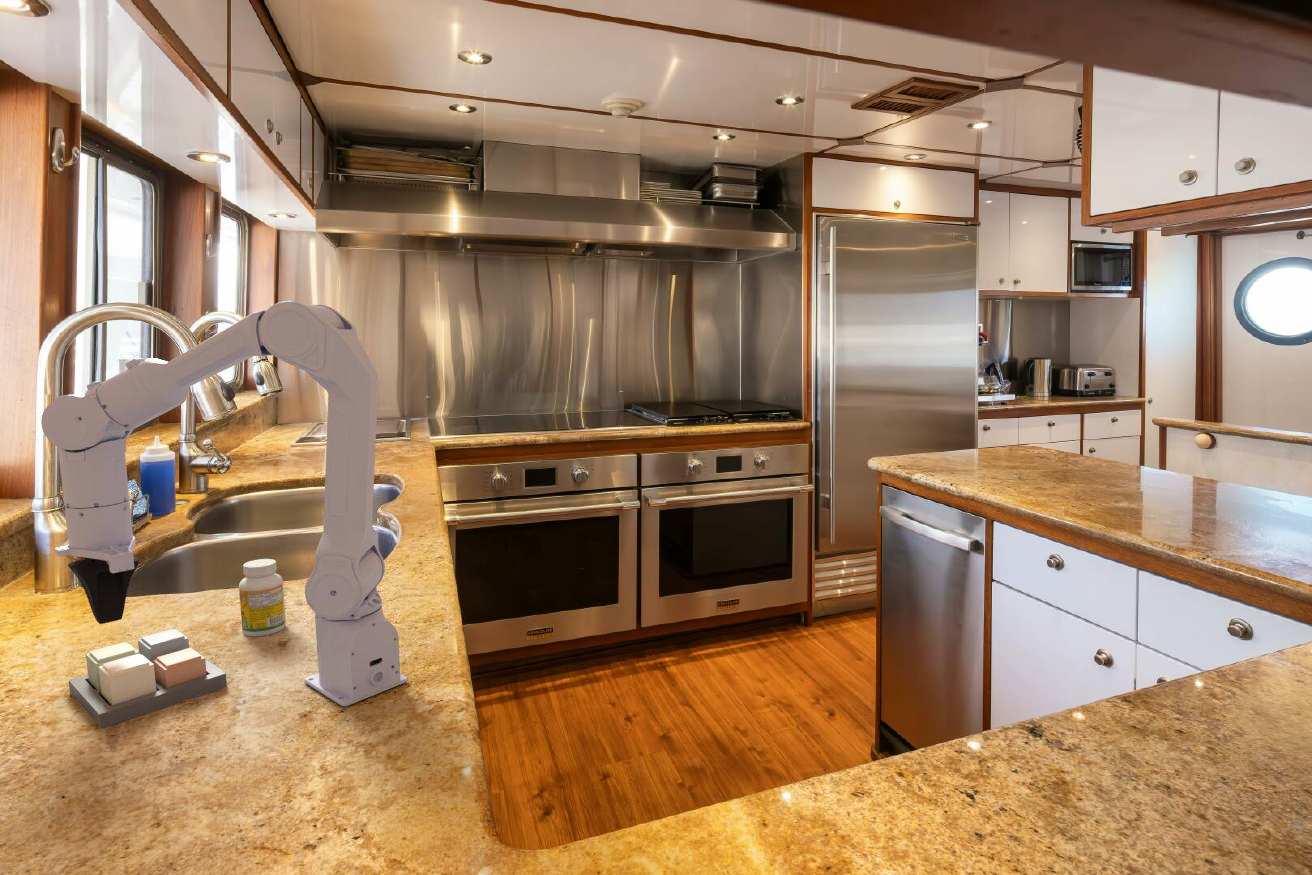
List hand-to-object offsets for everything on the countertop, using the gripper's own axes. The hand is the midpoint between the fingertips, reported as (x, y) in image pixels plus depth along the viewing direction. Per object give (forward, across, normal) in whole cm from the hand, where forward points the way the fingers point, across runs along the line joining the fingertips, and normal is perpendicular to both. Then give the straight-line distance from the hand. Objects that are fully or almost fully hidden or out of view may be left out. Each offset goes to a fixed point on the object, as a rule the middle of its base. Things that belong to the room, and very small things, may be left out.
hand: (109, 620), depth 82 cm
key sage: (+7, 0, 0) cm, 7 cm away
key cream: (+7, +5, 0) cm, 9 cm away
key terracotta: (+8, +5, +5) cm, 11 cm away
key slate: (+7, 0, +5) cm, 9 cm away
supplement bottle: (+9, -6, +18) cm, 21 cm away
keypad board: (+8, +2, +2) cm, 9 cm away
